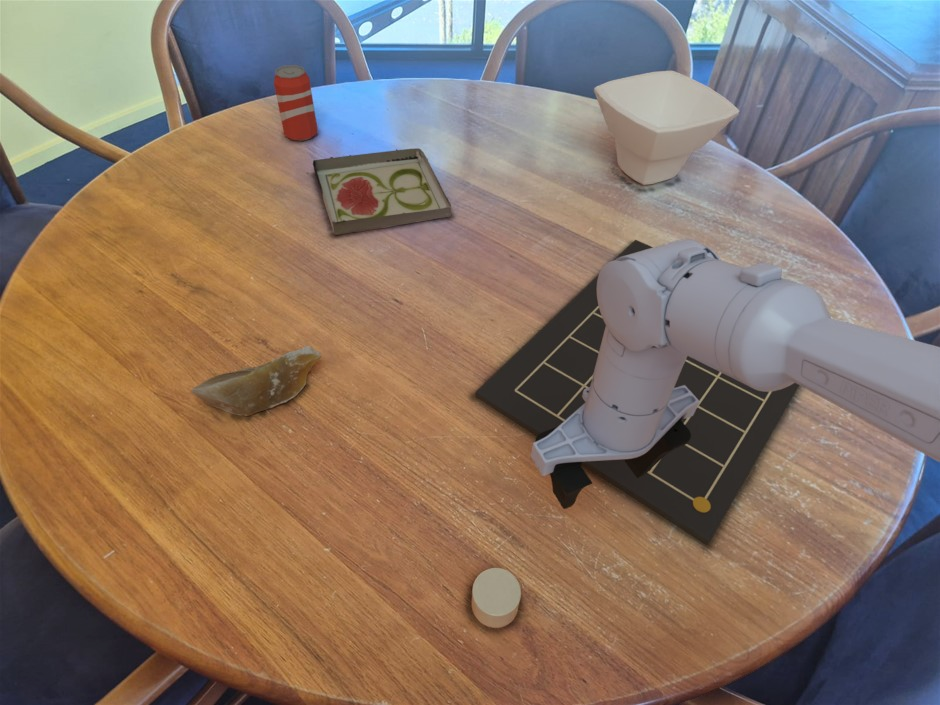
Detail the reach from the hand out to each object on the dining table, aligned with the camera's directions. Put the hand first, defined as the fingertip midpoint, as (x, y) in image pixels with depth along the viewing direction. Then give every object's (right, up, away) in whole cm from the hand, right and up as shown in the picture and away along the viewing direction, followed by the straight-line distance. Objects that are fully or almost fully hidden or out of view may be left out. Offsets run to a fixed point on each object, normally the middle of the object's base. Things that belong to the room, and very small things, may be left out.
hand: (598, 483), depth 55 cm
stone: (-36, +7, +20) cm, 42 cm away
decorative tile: (-27, +38, +49) cm, 68 cm away
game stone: (-9, -12, +3) cm, 15 cm away
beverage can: (-44, +53, +62) cm, 93 cm away
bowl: (+20, +44, +56) cm, 74 cm away
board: (+13, +10, +24) cm, 30 cm away
